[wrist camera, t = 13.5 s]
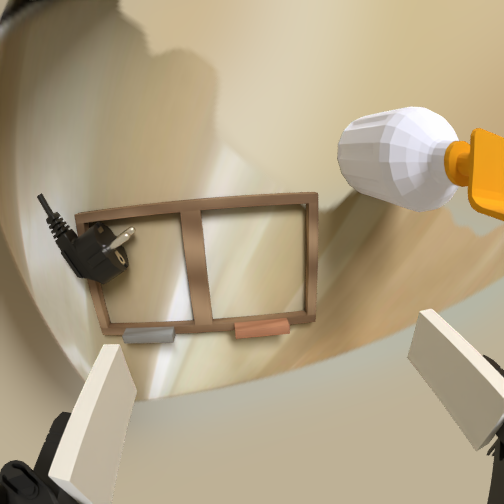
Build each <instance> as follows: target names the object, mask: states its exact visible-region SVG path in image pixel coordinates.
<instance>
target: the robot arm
mask: <svg viewBox="0 0 504 504" xmlns="http://www.w3.org/2000/svg"><path fill="white" fill-rule="evenodd" d="M30 1H35V0H30ZM407 358H408V359H409V360H410V362H411V363H412V365H413V366H414V367H415V368H416V370H417V371H418V372H419V374H420V375H421V376H422V377H423V379H424V380H425V381H426V383H427V384H428V385H429V387H430V388H431V389H432V391H433V392H434V393H435V395H436V396H437V397H438V399H439V400H440V401H441V403H442V404H443V405H444V407H445V408H446V410H447V411H448V412H449V413H450V415H451V416H452V418H453V419H454V421H455V422H456V423H457V425H458V426H459V428H460V429H461V430H462V432H463V433H464V435H465V436H466V438H467V439H468V440H469V442H470V443H471V445H472V446H473V448H474V449H475V450H476V451H478V450H479V449H481V448H482V447H484V446H485V445H487V444H488V443H489V442H490V441H491V440H492V438H493V437H494V436H495V434H496V435H497V436H498V439H497V440H496V442H495V443H494V444H493V446H492V447H491V448H490V449H489V451H488V453H487V455H490V453H491V452H492V451H493V450H494V448H495V451H494V453H493V454H492V456H494V463H493V472H492V479H491V486H490V492H489V497H488V503H487V504H504V370H503V369H501V368H500V366H499V365H498V364H497V363H496V362H495V361H494V360H492V359H491V358H489V357H487V356H485V355H483V356H482V355H481V354H480V353H478V351H476V350H475V348H473V347H472V346H471V345H470V344H469V343H468V342H467V341H466V340H465V339H464V338H463V337H462V336H461V335H460V334H459V333H458V332H457V331H456V330H454V329H453V328H452V327H451V326H450V325H449V324H448V323H447V322H446V321H445V320H443V319H442V318H441V317H440V316H439V315H438V314H437V313H436V312H435V311H434V310H432V309H428V310H424V311H419V315H418V319H417V324H416V328H415V331H414V336H413V339H412V343H411V347H410V350H409V353H408V357H407ZM136 393H137V390H136V387H135V385H134V382H133V380H132V377H131V374H130V372H129V369H128V366H127V363H126V361H125V358H124V355H123V352H122V349H121V346H120V344H104V345H103V347H102V349H101V351H100V353H99V355H98V357H97V359H96V361H95V363H94V365H93V367H92V369H91V371H90V374H89V376H88V378H87V380H86V382H85V384H84V387H83V389H82V391H81V393H80V395H79V398H78V400H77V402H76V405H75V407H74V409H73V411H72V413H68V412H62V413H61V414H60V415H59V416H58V417H57V418H56V419H55V420H54V421H53V424H52V426H51V428H50V431H49V432H50V433H49V434H48V435H47V438H46V442H44V445H43V447H42V450H41V452H40V455H39V457H38V459H37V462H36V465H35V467H34V470H32V469H31V468H30V467H29V466H28V465H27V464H25V463H24V462H22V461H18V460H14V461H10V462H8V463H7V464H5V465H4V466H3V468H2V469H1V472H0V504H112V498H113V493H114V488H115V483H116V478H117V472H118V468H119V463H120V458H121V453H122V450H123V445H124V441H125V437H126V432H127V428H128V424H129V420H130V416H131V412H132V408H133V405H134V401H135V397H136Z"/></svg>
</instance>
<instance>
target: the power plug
mask: <svg viewBox="0 0 504 504" xmlns="http://www.w3.org/2000/svg"><path fill="white" fill-rule="evenodd" d="M37 198H38V200H39V201H40V203H41V205H42V206H43V208H44V210H45V212H46V213H47V215H48V218H47V219H46V221H47V224H51V225H50V226H49V228H50V229H53V230H52V231H51V233H52V234H53V233H56V234H55V235H54V236H53V237H54V239H55V238H58V239H57V240H56V241H55V242H56V243H57V245H58V247H59V248H60V250H61V254H62V256H63V257H64V258H65V260H66V261H67V263H68V264H69V266H70V267H71V268H72V270H73V271H74V273H75V274H76V275H77V277H79V278H87V279H90V280H94V281H97V282H100V283H102V284H105V283H107V282H109V281H110V280H112V279H113V278H114V277H116V276H117V275H119V274H120V273H122V272H123V271H124V270H126V268H127V267H128V258H127V254H126V252H125V250H124V248H123V247H122V245H121V244H123V243H124V242H126V241H127V240H129V239H130V236H131V235H132V234H134V233H135V228H134V227H129V228H128V229H127V230H125V231H124V232H122V233H121V234H120V235H118V236H115V235H114V234H113V232H112V231H111V229H110V228H109V227H108V226H106V225H105V224H103V223H100V222H98V223H96V224H95V225H93V226H92V227H91V228H90V229H88V230H87V231H86V232H85V233H83V234H82V235H81V236H79V237H78V236H77V234H76V233H75V232H74V231H73V230H72V229H70V230H68V228H69V227H70V226H69V225H67V226H66V227H65V226H64V225H65V224H67V223H66V222H62V220H63V218H60V219H59V217H60V215H59V213H58V212H56V213H53V212H52V210H51V208H50V207H49V205H48V203H47V201H46V200H45V198H44V196H43V195H42V193H41V194H40V195H38V196H37Z"/></svg>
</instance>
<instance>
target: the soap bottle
mask: <svg viewBox="0 0 504 504" xmlns="http://www.w3.org/2000/svg"><path fill="white" fill-rule="evenodd" d="M470 140H471V141H470V144H468V143H466V142H465V141H459V140H458V137H457V135H456V133H455V131H454V129H453V128H452V127H451V126H450V124H449V123H448V122H447V121H446V120H445V119H444V118H443V117H442V116H440V115H438V114H436V113H434V112H432V111H430V110H428V109H426V108H422V107H406V108H401V109H396V110H391V111H386V112H381V113H376V114H372V115H367V116H363V117H361V118H359V119H356V120H354V121H352V122H351V123H350V124H349V125H348V126H347V128H346V129H345V130H344V131H343V133H342V135H341V138H340V141H339V143H338V158H337V159H338V163H339V166H340V170H341V173H342V175H343V176H344V178H345V179H346V181H347V182H348V184H349V185H350V186H351V187H353V188H354V189H356V190H357V191H358V192H360V193H362V194H365V195H368V196H371V197H374V198H377V199H380V200H383V201H386V202H389V203H392V204H395V205H398V206H401V207H404V208H407V209H410V210H413V211H417V212H423V211H429V210H434V209H438V208H439V207H441V206H442V205H444V204H445V203H447V202H448V201H449V200H450V199H451V198H452V196H453V195H454V193H455V192H456V191H457V189H458V186H461V187H464V186H468V200H469V202H470V205H471V207H472V208H473V209H474V210H476V211H477V212H479V213H482V214H485V215H488V216H491V217H494V218H496V219H499V220H502V221H504V138H503V137H500V136H498V135H496V134H493V133H491V132H488V131H486V130H483V129H481V128H476V129H474V130H473V131H472V134H471V139H470Z"/></svg>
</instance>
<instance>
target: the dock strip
mask: <svg viewBox="0 0 504 504" xmlns="http://www.w3.org/2000/svg"><path fill="white" fill-rule="evenodd" d="M305 203H306V295H305V311H296V312H287V313H278V314H268V315H257V316H246V317H234V318H221V319H213V317H212V309H211V301H210V293H209V284H208V275H207V266H206V257H205V247H204V237H203V227H202V216H201V210H210V209H223V208H236V207H251V206H267V205H285V204H305ZM176 212H180V216H181V225H182V234H183V243H184V251H185V259H186V267H187V274H188V281H189V288H190V295H191V302H192V308H193V315H194V320H190V321H170V322H145V323H111V322H110V319H109V315H108V311H107V308H106V304H105V300H104V296H103V292H102V288H101V284H100V282H97V281H94V280H90V279H87V280H88V284H89V288H90V292H91V296H92V299H93V303H94V307H95V310H96V314H97V317H98V320H99V324H100V327H101V330H102V333H103V335H123V336H122V337H123V340H124V343H170V342H174V338H175V334H180V333H200V332H215V331H229V330H235V335H236V339H238V338H250V337H261V336H271V335H280V334H289V333H290V325H292V324H300V323H308V322H315V319H316V299H317V271H318V193H316V192H299V193H277V194H259V195H243V196H228V197H215V198H203V199H192V200H181V201H171V202H161V203H152V204H143V205H134V206H126V207H118V208H110V209H102V210H95V211H88V212H81V213H78V214H75V221H76V227H77V233H78V237H79V236H81V235H82V234H83V233H85V232H86V231H87V230H88V229H89V225H88V222H94V221H102V220H110V219H119V218H128V217H136V216H146V215H155V214H165V213H176Z"/></svg>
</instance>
